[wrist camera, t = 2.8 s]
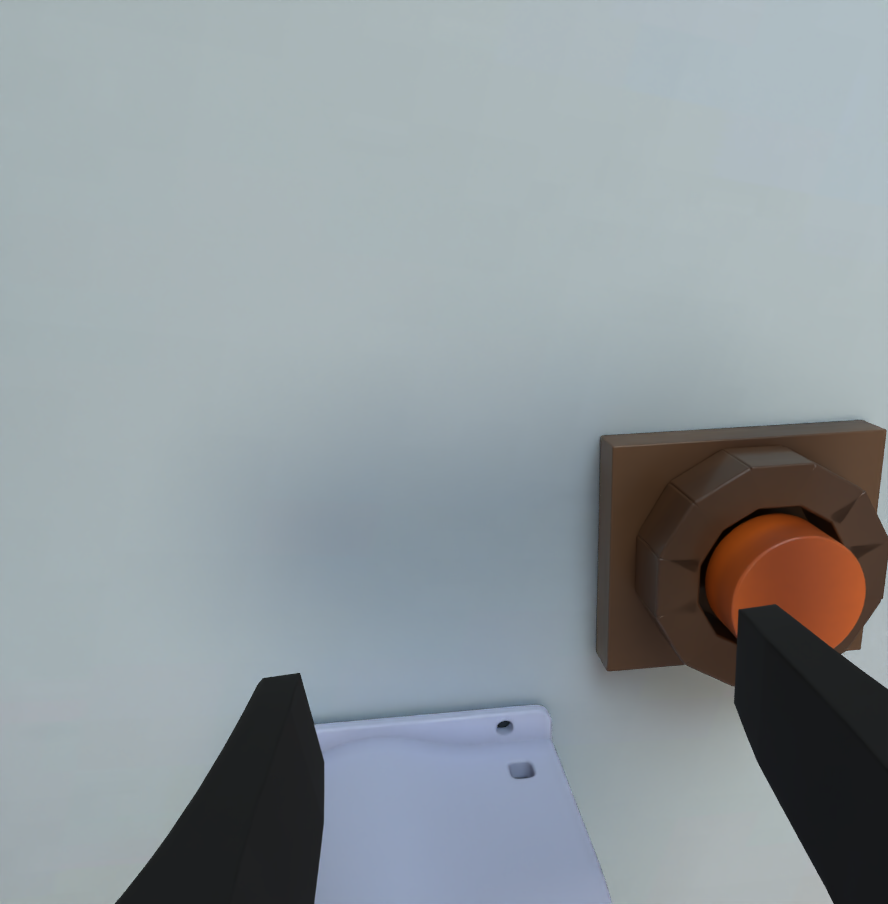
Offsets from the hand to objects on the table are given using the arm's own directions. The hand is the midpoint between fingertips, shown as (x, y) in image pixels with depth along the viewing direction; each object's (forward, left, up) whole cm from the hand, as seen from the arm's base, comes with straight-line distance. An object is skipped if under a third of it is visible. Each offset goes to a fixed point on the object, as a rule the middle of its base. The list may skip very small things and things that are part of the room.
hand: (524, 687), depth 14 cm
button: (-8, +2, -8) cm, 12 cm away
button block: (-8, +2, -11) cm, 14 cm away
